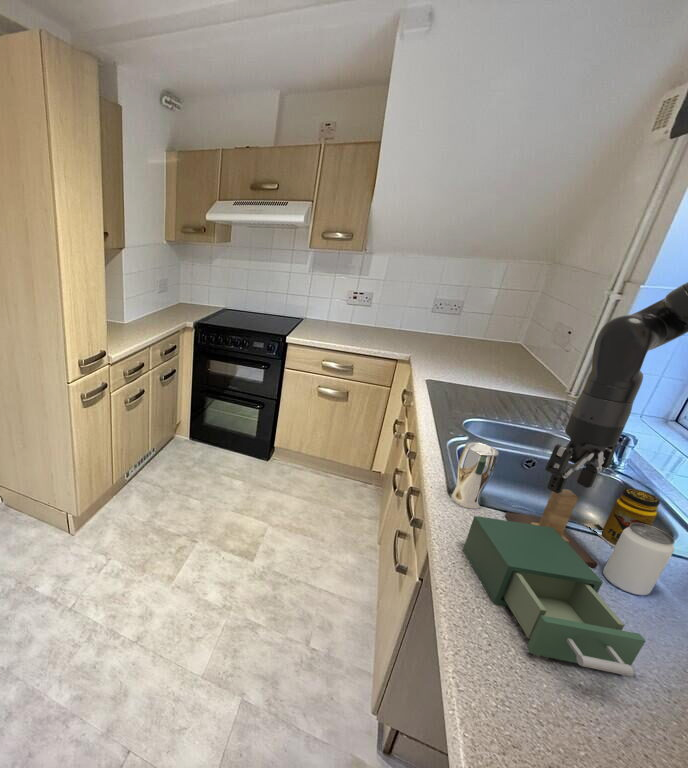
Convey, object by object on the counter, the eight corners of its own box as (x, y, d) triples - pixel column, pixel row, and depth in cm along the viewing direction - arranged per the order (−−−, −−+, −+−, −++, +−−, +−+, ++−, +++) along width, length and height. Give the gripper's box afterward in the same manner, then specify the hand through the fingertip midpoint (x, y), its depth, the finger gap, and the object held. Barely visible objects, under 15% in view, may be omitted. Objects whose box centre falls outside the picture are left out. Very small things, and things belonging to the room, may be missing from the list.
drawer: (648, 701, 58) (670, 668, 56) (545, 679, 61) (562, 646, 58) (572, 604, 73) (586, 574, 71) (492, 589, 76) (503, 560, 74)
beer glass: (445, 500, 103) (461, 448, 98) (452, 489, 107) (468, 438, 102) (478, 514, 98) (496, 459, 93) (484, 501, 103) (502, 449, 98)
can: (597, 565, 84) (621, 516, 79) (641, 578, 81) (668, 529, 76) (608, 587, 78) (634, 536, 74) (655, 602, 75) (685, 550, 71)
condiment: (617, 550, 88) (641, 503, 84) (583, 524, 96) (602, 480, 91) (653, 552, 87) (679, 505, 83) (615, 525, 95) (637, 481, 91)
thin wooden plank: (553, 523, 96) (555, 519, 95) (595, 568, 83) (598, 563, 82) (504, 516, 98) (506, 511, 97) (538, 558, 85) (540, 554, 85)
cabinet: (583, 620, 72) (603, 581, 68) (493, 603, 74) (508, 565, 71) (538, 562, 84) (553, 527, 81) (462, 549, 87) (474, 515, 84)
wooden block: (529, 526, 93) (545, 484, 89) (552, 529, 92) (570, 487, 88) (542, 541, 88) (560, 498, 84) (567, 545, 87) (587, 501, 83)
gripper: (595, 429, 74) (564, 504, 80) (648, 421, 78) (614, 493, 84) (550, 412, 81) (524, 482, 87) (601, 406, 85) (573, 473, 90)
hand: (568, 488), depth 85 cm, fingers open, 8 cm apart
